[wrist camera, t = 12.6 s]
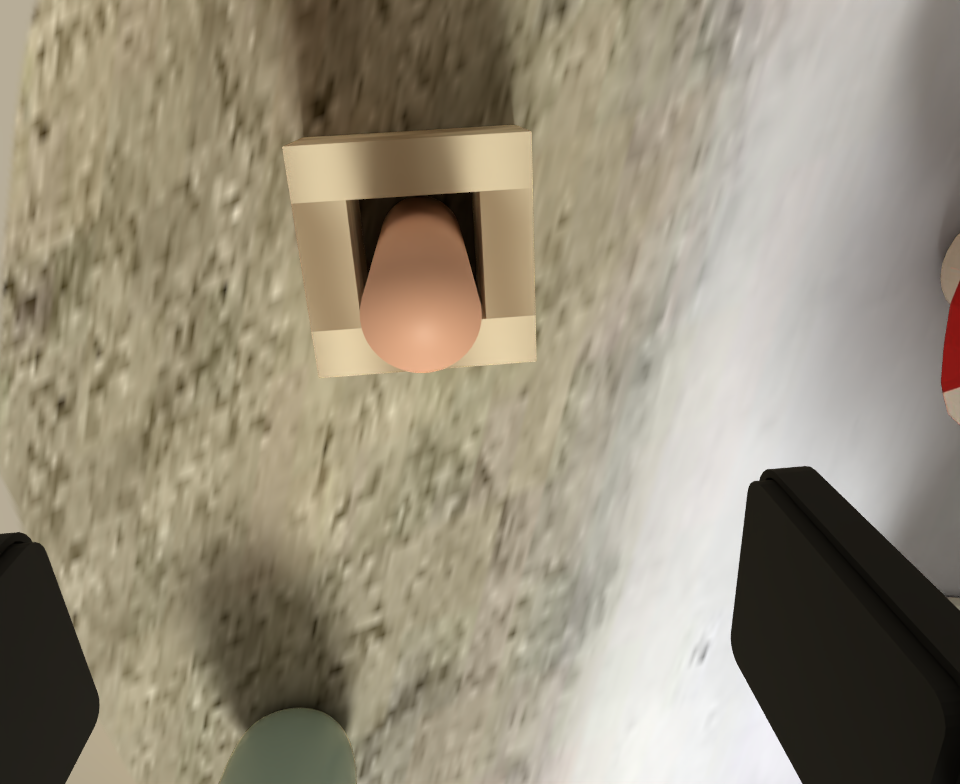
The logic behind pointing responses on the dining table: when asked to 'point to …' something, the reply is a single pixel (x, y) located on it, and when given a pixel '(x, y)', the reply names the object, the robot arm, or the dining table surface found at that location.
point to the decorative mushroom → (952, 330)
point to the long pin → (420, 289)
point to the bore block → (410, 172)
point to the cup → (292, 751)
